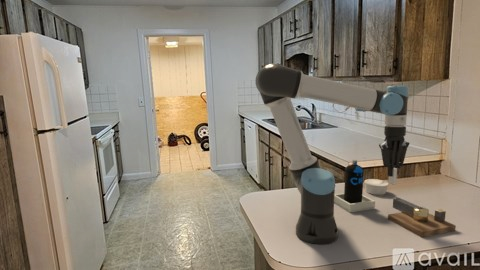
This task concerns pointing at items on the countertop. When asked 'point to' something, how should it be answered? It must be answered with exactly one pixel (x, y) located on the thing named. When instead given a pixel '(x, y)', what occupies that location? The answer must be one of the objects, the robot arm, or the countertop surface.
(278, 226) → the countertop surface
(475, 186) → the countertop surface
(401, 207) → the crank lever
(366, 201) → the tray
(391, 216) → the crank base
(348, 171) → the aerosol can
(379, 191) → the ramekin
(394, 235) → the countertop surface
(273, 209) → the countertop surface
